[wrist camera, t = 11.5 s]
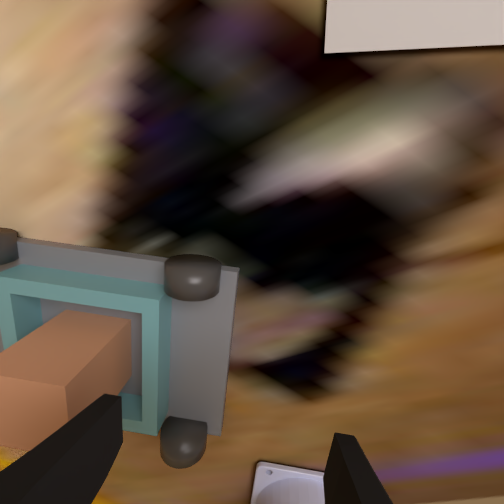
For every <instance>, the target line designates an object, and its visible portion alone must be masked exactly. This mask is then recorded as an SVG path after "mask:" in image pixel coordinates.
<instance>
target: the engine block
mask: <svg viewBox="0 0 504 504" xmlns="http://www.w3.org/2000/svg"><path fill="white" fill-rule="evenodd" d="M131 376H132V358H131V319H125V318H118V317H112V316H105V315H99V314H92V313H86V312H79V311H73V310H67V309H66V310H64V311H63V312H61V313H60V314H58V315H57V316H55V317H54V318H52V319H51V320H49V321H48V322H46V323H45V324H43V325H42V326H40V327H39V328H37V329H36V330H34V331H33V332H31V333H30V334H28V335H27V336H25V337H24V338H22V339H21V340H19V341H18V342H16V343H15V344H13V345H12V346H10V347H9V348H7V349H5V350H4V351H2V352H1V353H0V446H5V447H10V448H16V449H21V450H26V451H30V450H31V449H33V448H34V447H35V446H37V445H38V444H39V443H41V442H42V441H43V440H45V439H46V438H47V437H49V436H50V435H51V434H53V433H54V432H55V431H57V430H58V429H59V428H61V427H62V426H63V425H64V424H66V423H67V422H68V421H70V420H71V419H72V418H73V417H75V416H76V415H77V414H78V413H80V412H81V411H82V410H84V409H85V408H86V407H87V406H89V405H90V404H91V403H92V402H94V401H95V400H96V399H98V398H99V397H100V396H102V395H103V394H104V393H105V394H111V395H116V396H117V395H118V394H119V393H120V391H121V390H122V388H123V387H124V386H125V384H126V383H127V381H128V380H129V379H130V377H131Z"/></svg>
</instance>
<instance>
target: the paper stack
mask: <svg viewBox="0 0 504 504" xmlns="http://www.w3.org/2000/svg"><path fill="white" fill-rule="evenodd" d="M489 45H504V0H327V13H326V31H325V50H324V53H343V52H364V51H385V50H405V49H426V48H447V47H468V46H489Z"/></svg>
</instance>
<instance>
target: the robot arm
mask: <svg viewBox="0 0 504 504" xmlns="http://www.w3.org/2000/svg"><path fill="white" fill-rule="evenodd" d="M122 443H123V429H122V396H116V395H111V394H105V393H104V394H103V395H102V396H100V397H99V398H98V399H96V400H95V401H94V402H92V403H91V404H90V405H89V406H87V407H86V408H85V409H84V410H82V411H81V412H80V413H78V414H77V415H76V416H75V417H73V418H72V419H71V420H70V421H68V422H67V423H66V424H64V425H63V426H62V427H61V428H59V429H58V430H57V431H55V432H54V433H53V434H51V435H50V436H49V437H47V438H46V439H45V440H43V441H42V442H41V443H39V444H38V445H37V446H35V447H34V448H33V449H31V450H30V451H29V452H27V453H26V454H25V455H23V456H22V457H20V458H19V459H18V460H16V461H15V462H13V463H12V464H11V465H9V466H8V467H6V468H5V469H4V470H2V471H1V472H0V504H91V503H92V502H93V500H94V498H95V496H96V495H97V493H98V491H99V489H100V488H101V486H102V484H103V483H104V481H105V479H106V477H107V475H108V473H109V471H110V469H111V467H112V465H113V463H114V460H115V458H116V456H117V454H118V452H119V449H120V447H121V445H122ZM250 504H393V503H392V501H391V499H390V498H389V496H388V494H387V493H386V491H385V489H384V487H383V486H382V484H381V482H380V481H379V479H378V477H377V475H376V474H375V472H374V470H373V468H372V467H371V465H370V463H369V461H368V459H367V458H366V456H365V454H364V452H363V450H362V449H361V447H360V445H359V443H358V441H357V439H356V438H355V437H354V436H353V435H347V434H341V433H335V434H334V437H333V441H332V445H331V449H330V453H329V457H328V460H327V464H326V468H325V472H318V471H313V470H307V469H301V468H296V467H290V466H285V465H279V464H273V463H268V462H259V463H258V464H257V466H256V472H255V478H254V484H253V491H252V497H251V503H250Z"/></svg>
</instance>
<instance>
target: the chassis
mask: <svg viewBox="0 0 504 504" xmlns="http://www.w3.org/2000/svg"><path fill="white" fill-rule="evenodd" d="M238 277H239V268H236V267H228V266H221V263H220V262H219V261H218V260H216V259H214V258H212V257H208V256H203V255H194V254H186V255H177V256H173V257H170V258H164V257H157V256H150V255H142V254H135V253H128V252H121V251H114V250H107V249H99V248H92V247H85V246H78V245H71V244H64V243H56V242H49V241H42V240H35V239H28V238H21V237H17V232H16V231H15V230H12V229H8V228H0V353H1V352H2V351H4V350H5V349H7V348H9V347H10V346H12V345H13V344H15V343H16V342H18V341H19V340H21V339H22V338H24V337H25V336H27V335H28V334H30V333H31V332H33V331H34V330H36V329H37V328H39V327H40V326H42V325H43V324H45V323H46V322H48V321H49V320H51V319H52V318H54V317H55V316H57V315H58V314H60V313H61V312H63V311H64V310H66V309H67V310H73V311H79V312H86V313H92V314H99V315H105V316H112V317H118V318H125V319H131V358H132V376H131V377H130V379H129V380H128V381H127V383H126V384H125V386H124V387H123V388H122V390H121V391H120V393H119V394H118V395H117V396H122V429H123V430H125V431H131V432H136V433H142V434H148V435H153V436H157V435H158V432H159V430H160V428H161V437H160V453H161V457H162V459H163V461H164V462H165V463H166V464H167V465H169V466H171V467H173V468H178V469H181V468H187V467H190V466H192V465H194V464H195V463H197V462H198V461H199V460H200V459H201V457H202V456H203V454H204V452H205V449H206V439H207V434H211V435H216V436H221V431H222V427H223V418H224V408H225V399H226V390H227V380H228V371H229V361H230V352H231V343H232V333H233V324H234V315H235V305H236V296H237V286H238ZM161 426H162V427H161Z"/></svg>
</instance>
